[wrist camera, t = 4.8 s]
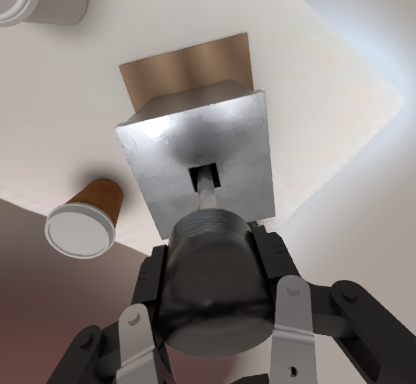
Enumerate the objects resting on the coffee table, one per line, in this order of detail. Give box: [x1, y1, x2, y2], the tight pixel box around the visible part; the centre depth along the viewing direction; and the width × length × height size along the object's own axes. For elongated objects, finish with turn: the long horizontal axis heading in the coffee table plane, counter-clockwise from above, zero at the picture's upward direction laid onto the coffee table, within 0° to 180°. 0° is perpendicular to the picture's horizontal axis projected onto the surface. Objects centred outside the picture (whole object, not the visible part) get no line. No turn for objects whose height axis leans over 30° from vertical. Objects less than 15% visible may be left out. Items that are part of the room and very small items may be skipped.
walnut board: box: [119, 33, 253, 112], centre depth 37 cm, size 18×22×1 cm
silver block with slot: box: [114, 79, 275, 240], centre depth 30 cm, size 12×15×18 cm
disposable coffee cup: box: [45, 179, 123, 259], centre depth 37 cm, size 10×10×12 cm
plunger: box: [157, 162, 276, 357], centre depth 18 cm, size 8×8×20 cm
